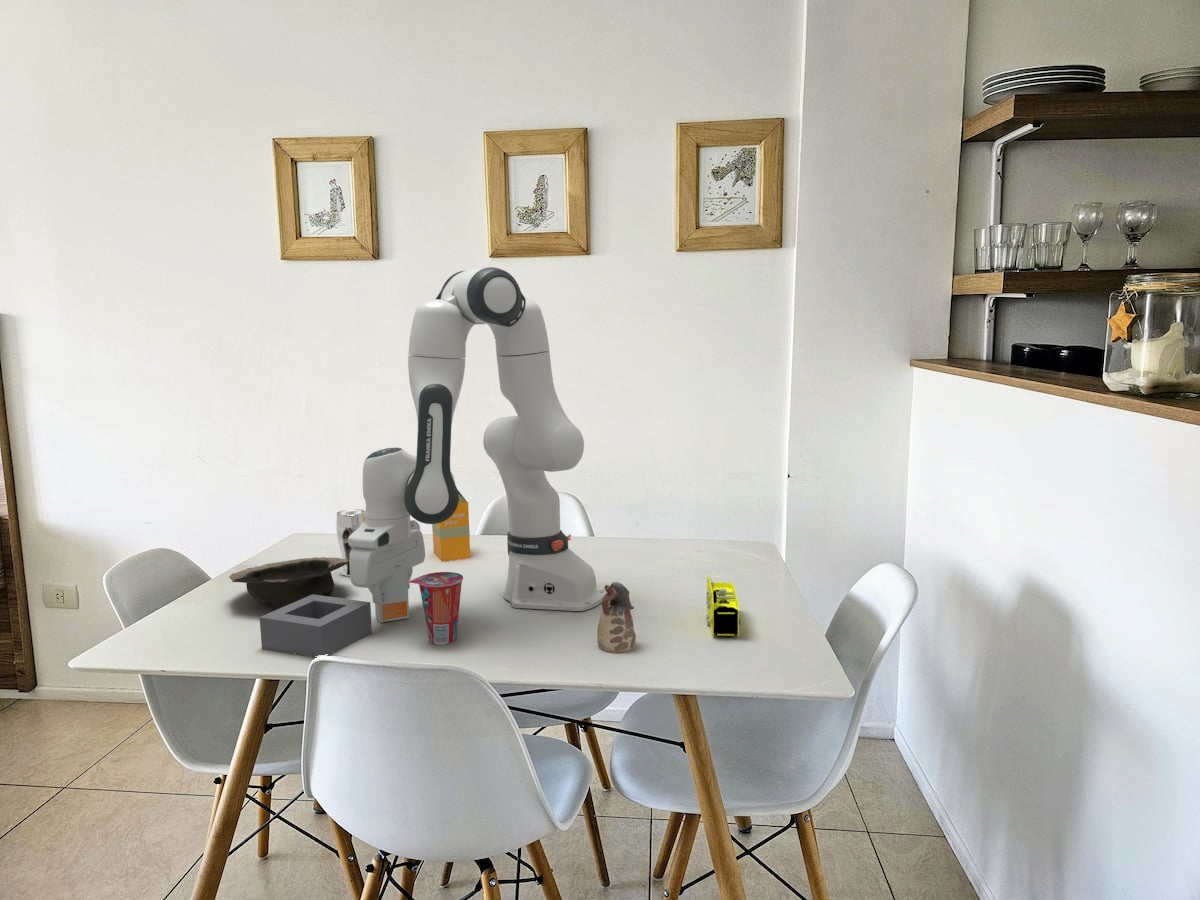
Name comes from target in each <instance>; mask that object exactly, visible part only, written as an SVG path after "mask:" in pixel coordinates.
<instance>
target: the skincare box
mask: <svg viewBox="0 0 1200 900" xmlns="http://www.w3.org/2000/svg"><path fill="white" fill-rule="evenodd" d="M394 570H395V573H394V576H392V577H390V578H388V579H386V580H383V581H381V587H379V589H380V591H381V593H384V598H385V600H384V601H383V602H382V603H380V604H376V603H374V606H375V607H374V610H375V611H374V612H375V617H376V619H377V620H378V621H379V623H380V624H381V623H385V622H392V621H398V620H399V621H401V620H404V619H405V620H406V619H409V618H410V612H409V611H410V607H409V606H410V605H409V604H410V603H409V589H408V574H407V561H406V560H405V559H403V560H400V561H398V562H396V563H394Z"/></svg>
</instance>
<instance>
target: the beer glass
mask: <svg viewBox="0 0 1200 900" xmlns="http://www.w3.org/2000/svg"><path fill="white" fill-rule="evenodd" d="M364 514H365V510H364V509H362V508H361V509H358V508H355V509H354V508H353V509H352V508H351V509H344V510H339V511H337V512H336V537H337V542H338V546H339V550H340V553H341V559H347V561H348V560H349V556H350V552H351V550H352V548H353V547H351V546H349V544H348V538H349V536H350V535H351V534H352V533H353V532H355V531H356V530H357V529H358V528H359V527H360V526H361V524H362V523H363V522H365V517H364ZM340 573H341V575H342V576H343V575H345V576H344V577H348V576H350V566H349V562H348V563H347V564H346V565H344V566H342V567H341V572H340Z"/></svg>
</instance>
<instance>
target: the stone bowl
mask: <svg viewBox="0 0 1200 900" xmlns="http://www.w3.org/2000/svg"><path fill="white" fill-rule="evenodd" d="M348 562H349V560H348V561H347V559H342V557H334V556H333V557H325V556H324V557H323V556H322V557H321V556H320V557H316V556H315V557H309V558H308V557H307V558H296V559H290V560H285V561H284V560H283V561H278V562H270V563H266V564H262V565H260V566H252V567H248V568H246V569H242V570H240V571H237V572H234V573H231V574H230V575H229V577H228V578H229V579H230V580H231V583H244V584H245V583H246V584H245V585H246V591H247V592H248V594H249V595H250V596H251V597H253V598H255V599H256V598H257V599H258V600H259V601H261V602H264V603H265V602H266V603H271V604H272V605H273V609H274V611H275V610H277V609H280V608H282V607H284V606H287V605H289V604H291V603H294V602H296V601H298V600H301V599H303V598H305V597H308V596H310V595H312V594H314V595H321V596H324V595H325V596H328V595H331V594H332V593H333V592H334V587H335V582H334V578H333V575H332V572H333V571H335V570H338V569H340V568H342V566H344V565H346V564H347V563H348Z"/></svg>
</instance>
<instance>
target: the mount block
mask: <svg viewBox="0 0 1200 900" xmlns="http://www.w3.org/2000/svg"><path fill="white" fill-rule="evenodd" d="M371 609H372V608H371V601H365V600H364V601H363V600H356V599H349V598H342V597H335V596H328V595H325V596H321V595H314V594H312V595H310V596H308V597H305V598H303V599H301V600H298V601H296V602H294V603H291V604H289V605H287V606H284V607H282V608H280V609H277V610H275V609H274V610H273V611H271V612H268V613H266V614H263V615H261V616H260V617H259V627H260V628H259V629H260V642H261V649H264V650H268V649H270V651H274V650H277V651H276V652H280V651H282V652H281V653H286V652H289V653H288V654H291V653H296V654H295V655H297V654H300V655H299V656H303V655H306V656H305V657H309V656H312V657H311V658H315V656H318V655H325V654H330V655H332V654H334V653H336V652H338V651H339V650H341V649H344V648H345V647H347V646H348V645H351V644H352V643H354V642H357V641H358V640H360V639H362V638H364V637H366V636H368V635H369V634H371V633H372V631H373V627H372V612H371V611H372V610H371ZM337 650H338V651H337ZM333 652H334V653H333Z"/></svg>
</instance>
